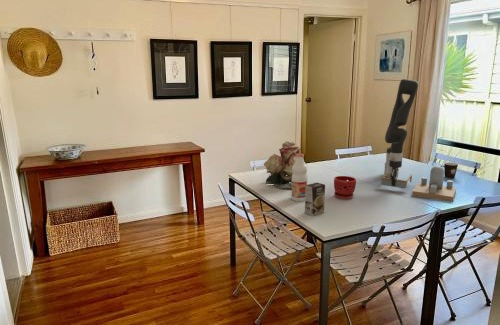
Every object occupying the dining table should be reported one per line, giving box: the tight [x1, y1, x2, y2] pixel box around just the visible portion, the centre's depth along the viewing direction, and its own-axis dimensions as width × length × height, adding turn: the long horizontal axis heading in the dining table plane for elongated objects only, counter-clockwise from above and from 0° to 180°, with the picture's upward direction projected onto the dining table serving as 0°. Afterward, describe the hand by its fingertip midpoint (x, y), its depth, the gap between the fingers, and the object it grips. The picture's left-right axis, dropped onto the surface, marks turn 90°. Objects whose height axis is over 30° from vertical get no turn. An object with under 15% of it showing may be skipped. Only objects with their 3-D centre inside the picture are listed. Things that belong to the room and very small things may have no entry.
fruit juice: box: [290, 153, 308, 202], centre depth 219 cm, size 9×9×28 cm
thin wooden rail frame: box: [380, 171, 413, 189], centre depth 242 cm, size 16×17×5 cm
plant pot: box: [333, 175, 357, 200], centre depth 224 cm, size 13×13×12 cm
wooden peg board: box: [411, 165, 457, 202], centre depth 225 cm, size 22×21×17 cm
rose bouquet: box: [263, 141, 305, 189], centre depth 249 cm, size 26×29×30 cm
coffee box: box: [304, 182, 326, 217], centre depth 198 cm, size 9×6×16 cm
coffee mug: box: [439, 161, 459, 180], centre depth 261 cm, size 12×9×10 cm
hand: (393, 185), depth 236 cm, fingers closed on thin wooden rail frame, 1 cm apart
